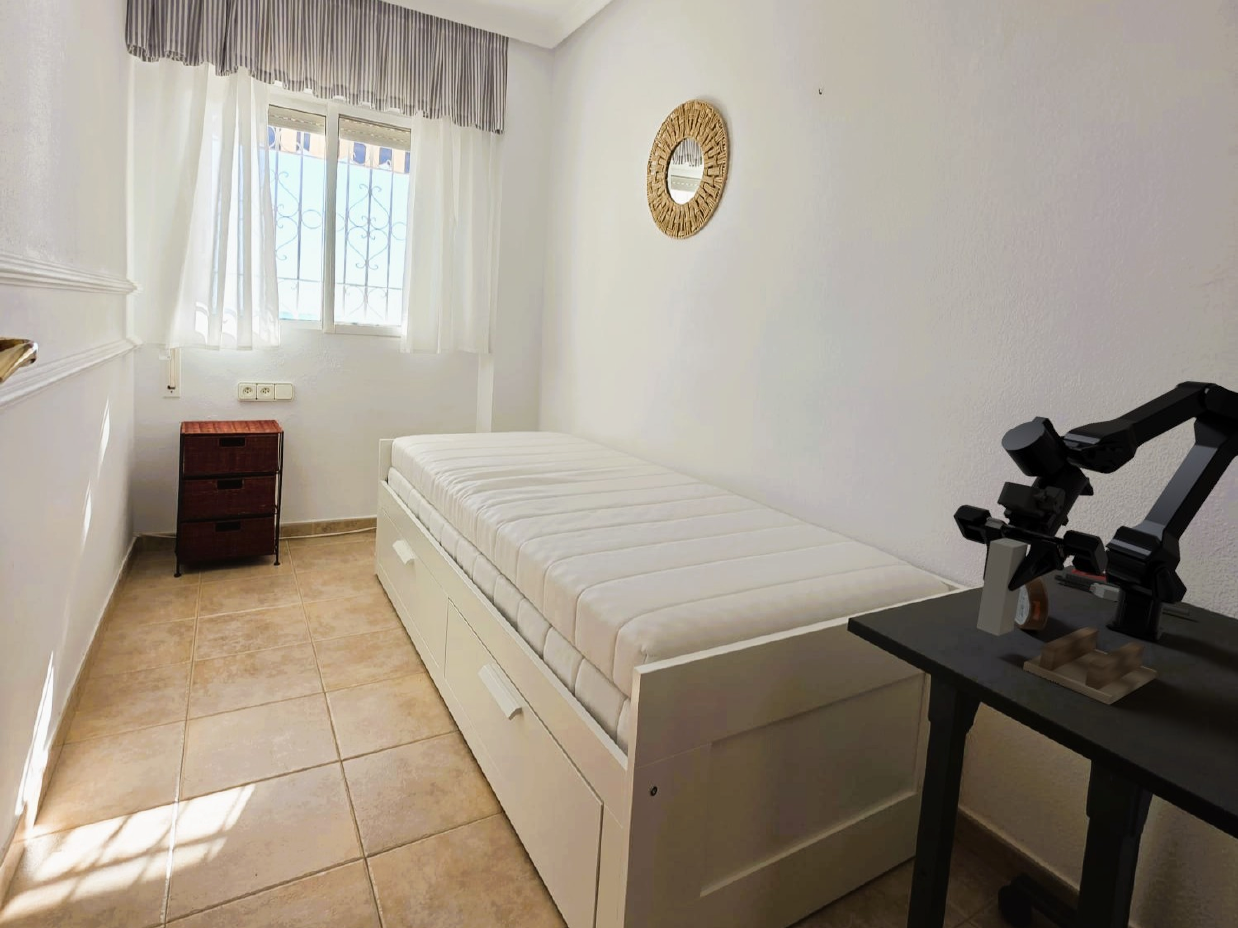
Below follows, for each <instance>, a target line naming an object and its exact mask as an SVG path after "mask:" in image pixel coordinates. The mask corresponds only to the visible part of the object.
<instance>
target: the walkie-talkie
mask: <svg viewBox="0 0 1238 928" xmlns="http://www.w3.org/2000/svg"><path fill="white" fill-rule="evenodd" d="M1053 579H1054V580H1055V581H1058V582H1060V584H1061V585H1063V586H1065V587H1070V586H1071V588H1073V589H1077V590H1080V591H1086V592H1088V591H1091V592H1090V593H1092V594H1093V595H1095V596H1097V597H1099V598H1100V599H1103V598H1104V599H1103V600H1108V601H1111V602H1115V601H1117V598H1118V593H1119V588H1120V587H1119V586H1116V585H1114V584H1110V583H1107V582H1106V575H1105V570H1104V572H1103V573H1102V575H1101V576H1094V575H1091V574H1087V573H1084V572H1080V571H1077V570H1076V569H1075V568H1074V566H1073V564H1070V565H1068V566H1067V567H1065V568H1064V570H1063V571H1062V575H1060V574H1055V575H1054V576H1053ZM1163 612H1172V613H1175V614H1179V615H1184V616H1190V617H1191V615H1192V613H1191V611H1189V610H1188V609H1183V608H1180V607H1175V606H1171V605H1169V604H1166V603H1164V608H1163Z"/></svg>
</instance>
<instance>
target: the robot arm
mask: <svg viewBox="0 0 1238 928" xmlns="http://www.w3.org/2000/svg"><path fill="white" fill-rule="evenodd" d="M1192 419H1195V420H1194V422H1193V432H1194V441H1195V442H1194V444H1193V445H1192V447H1191V448H1190V450H1189V451H1188V453H1187V454H1186V456H1185V458H1184V459H1183V461H1182V462H1181V463H1180V464H1179V466H1178V468H1177V469H1176V471H1175V472H1174V473H1173V476H1171V478H1170V479H1169V481H1168V483H1167V484H1166V486H1165V487H1164V488H1163V490H1162V492H1161V493H1160V494H1159V497H1158V498H1157V499H1156V501H1155V502H1154V503H1153V505H1152V506H1151V508H1150V510H1149V511H1148V513H1147V515H1146V516H1145V517H1144V519H1143V520H1142V521H1141V522H1139V524H1137V525H1135V526H1132V527H1129V526H1127V525H1126V526H1125V525H1120V527H1117V529H1116V530H1115V533H1114V535H1113V536H1112V538H1111V539H1110V541H1109V542H1108V543H1106V544H1105V545H1104V542H1103V540H1102V538H1101V536H1099V535H1096V534H1092V533H1091V534H1090V533H1086V532H1083V531H1078V530H1074V529H1069V530H1066V531H1065V532H1064V535H1063V536H1062V537H1059V536H1056V535H1057V534H1058V532H1059V531H1060V528H1061V526H1062V527H1066V526H1068V523H1069V521H1070V520H1069V516H1068V515H1069V514H1070V513H1071V510H1072V508H1073V507H1074V505H1075V503H1076V501H1077V500H1078V498H1079V497H1080V496H1083V497H1092V496H1094V495H1095V494H1094V487H1093V486H1092V484H1091V481H1090V477H1089V476H1087V475H1086V474H1085V473H1084V472H1083V471H1082V470H1087V471H1090V472H1095V473H1100V474H1103V475H1108V474H1109V475H1110V474H1112V473H1115V472H1117V471H1118V470H1120V469H1121V468H1122V467H1123V466H1125V465H1126V464H1127V463H1129V462H1130V461H1131V460H1133V459H1134V458H1135V457H1136V456H1135V455H1136V453H1137V451H1138V449H1139V447H1141V446H1142V445H1144V444H1146V443H1147V442H1150V441H1151V440H1153V439H1155V438H1157V437H1159V436H1161V435H1163V434H1165V433H1167V432H1169V431H1170V430H1172V429H1175V428H1176V427H1178V426H1180V425H1182V424H1184V423H1185V422H1188V421H1190V420H1192ZM1000 442H1001V447H1002V448H1003V449H1004V451H1005V452H1006V453H1007V454H1008V456H1009V457H1010V458H1011V460H1012V461H1013V463H1015V465H1016V466H1017V467H1018V469H1019V470H1020V471H1021V472H1022V474H1023V475H1025V476H1027V477H1029V478H1030V477H1031V478H1035V479H1034V481H1033V483H1032V484H1031V485H1027V484H1021V483H1016V482H1013V481H1005V482H1004V484H1003V486H1002V488H1001V492H1000V494H999V497H998V499H997V502H996V503H997V505H999V506H1002V507H1004V511H1003V514H1002V515H1003V516H1004V518H1005V519H1007V520H1008V522H1007V523H1006V521H1004V520H1002V519H1000V518H995V517H993V516H992V514H991V512H990V509H986V508H982V507H978V506H974V505H970V504H963V505H962V504H961V505H960V506H959V507H958V508H957V509H956V511H955V513H954V514H953V516H952V517H953V518H954V521H955V522H956V526H957V527H958V530H959V531H960V533H961V535H962V538H965V540H968V541H970V542H975V543H978V544H981V545H985V546H986V555H985V560H984V568H983V576H982V580H983V581H984V579H985V573H986V566H987V560H988V554H989V548H990V542H991V541H994V540H999V539H1003V538H1008V539H1012V540H1016V541H1019V542H1023V543H1027V544H1028V546H1030V547H1029V549H1028V551H1027V553H1026V557H1025V559H1024V560H1023V562H1022V563H1021V565H1020V566H1019V568H1018V569H1017V571H1016V572H1015V574H1014V575H1013V577H1012V579H1011V581H1010V583H1009V585H1008V589H1009V591H1014V590H1016V589H1018V588H1020V587H1021V586H1023V585H1025V584H1027V583H1029V582H1030V581H1032V580H1034V579H1036V578H1038V577H1043V576H1045V575H1046V574H1049V573H1052V572H1053V571H1059V572H1063V570H1064V569H1065V568H1066V567H1065V565H1064V563H1065V562H1066V561H1067V559H1069V558H1070V557H1072V560H1071V565H1073V566H1074V568H1075V569H1076V570H1077V571H1080V572H1084V573H1087V574H1091V575H1094V576H1101V575H1102V573H1105V575H1106V582H1107V583H1110V584H1114V585H1116V586H1119V587H1120V588H1119V593H1118V598H1117V602H1115V603H1116V604H1115V608H1114V613H1113V615H1112V617H1111V618H1110V619H1109V620H1108V621H1107V622H1106V623H1105V627H1106V628H1108V629H1110V630H1114V631H1117V632H1120V633H1125V634H1127V635H1132V636H1135V637H1139V638H1142V639H1146V640H1149V641H1153V642H1158V641H1159V639H1160V638H1161V637H1162V636H1163V633H1164V631H1165V628H1164V627H1162V626H1160V625H1161V621H1162V616H1163V613H1164V611H1163V608H1164V604H1167V605H1175V604H1176V603H1181V602H1182V601H1183V599H1184V597H1185V595H1186V593H1187V591H1188V588H1187V586H1186V585H1185V584H1184V582H1183V581H1182V579H1181V578H1180V576H1179V574H1178V573H1177V572H1176V571H1177V568H1178V566H1179V564H1180V562H1181V551H1180V539H1181V537H1182V536H1183V534H1184V533H1185V531H1186V529H1187V528H1188V527H1189V526H1190V524H1191V522H1192V521H1193V519H1194V518H1195V517H1196V516H1197V514H1198V513H1199V511H1200V509H1201V507H1203V505H1204V503H1205V502H1206V500H1207V499H1208V497H1209V496H1210V494H1211V493H1212V491H1213V490H1214V489H1215V487H1216V485H1217V484H1218V482H1219V481H1220V480H1221V478H1222V477H1223V475H1224V473H1225V472H1226V471H1227V469H1228V467H1229V466H1230V464H1231V463H1232V462H1233V460H1234V459H1236V458H1237V457H1238V391H1233V390H1230V389H1228V388H1226V387H1224V386H1222V385H1219V384H1217V383H1216V382H1206V381H1205V382H1204V381H1195V380H1194V381H1193V380H1185V381H1183V382H1182V381H1181V382H1179V383H1177V384H1176V385H1175V386H1174V387H1173V389H1171V390H1169V391H1167V392H1164V393H1163V394H1161V395H1159V396H1157V397H1155V398H1153V399H1151V400H1149V401H1148V402H1146V403H1144V404H1141V405H1140V406H1138V407H1136V408H1133V409H1132V410H1130V411H1128V412H1126V413H1124V414H1122V415H1121V416H1118V417H1116V418H1114V419H1110V420H1106V421H1098V422H1090V423H1087V424H1083V425H1080V426H1078V427H1074V428H1071V429H1070V430H1068V431H1067V432H1065V434H1063V435H1059V432H1057V430H1056V429H1055V427H1054V424H1053V423H1052V421H1051V419H1050V418H1048V417H1043V416H1039V415H1038V416H1034V418H1033V419H1032V420H1031V421H1027V422H1023V423H1021V424H1018V425H1015V427H1013V428H1010V429H1008V430H1007V431H1006V433H1005V434H1004V435H1003V436H1002V438H1001V441H1000ZM1105 548H1106V549H1105ZM1104 570H1105V571H1104Z"/></svg>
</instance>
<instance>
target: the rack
mask: <svg viewBox="0 0 1238 928" xmlns="http://www.w3.org/2000/svg"><path fill="white" fill-rule="evenodd" d="M1099 632H1100V630H1099V629H1097V628H1093V627H1091V626H1089V625H1087V626H1084V627H1083V628H1081V629H1077V630H1075V631H1073V632H1071V633H1068V634H1065V635H1064V636H1061V637H1058V638H1057V639H1054V640H1051V641H1050V642H1047V643H1044V644H1042V649H1041V653H1040V655H1037V656H1036V657H1033V658H1032V659H1029V660H1026V661H1024V662H1023V668H1022V669H1023V670H1024V671H1027V672H1028V671H1029V673H1031V674H1033V673H1034V675H1036V676H1038V677H1040V676H1041V678H1043V679H1045V678H1046V679H1045V680H1048V681H1050V680H1051V682H1053V681H1054V682H1053V683H1055V682H1056V683H1055V684H1057V683H1059V684H1058V685H1060V686H1063V687H1065V688H1068V689H1069V690H1073V692H1077V693H1080V694H1083V695H1085V696H1087V697H1089V698H1091V699H1093V700H1096V701H1098V702H1101V703H1104V704H1105V705H1111V704H1113V703H1115V702H1116V701H1118V700H1120V699H1122V698H1123V697H1125V696H1127V695H1129V694H1131V693H1132V692H1134V691H1135V690H1137V689H1139V688H1140V687H1143V685H1146V684H1147V683H1149V682H1151V681H1152V680H1155V678H1156V674H1157V670H1155V669H1152V668H1148V667H1146V666H1144V665H1142V661H1143V656H1144V652H1145V647H1146V645H1144V644H1142V643H1139V642H1135V641H1130V642H1129V643H1127V644H1125V645H1122V646H1121V647H1118V648H1116V649H1115V650H1112V651H1110V652H1108V653H1107V652H1105V651H1101V650H1100V649H1096V647H1097V642H1098V637H1099Z"/></svg>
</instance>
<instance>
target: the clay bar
mask: <svg viewBox="0 0 1238 928" xmlns="http://www.w3.org/2000/svg"><path fill="white" fill-rule="evenodd" d="M1028 547H1029V545H1028V544H1027V543H1023V542H1019V541H1016V540H1012V539H1008V538H1003V539H999V540H994V541H991V542H990V548H989V554H988V560H987V566H986V573H985V579H984V580H983V585H982V586H983V587H982V593H981V597H980V605H979V611H978V617H977V625H976V629H979V630H981V631H983V632H985V633H989V634H992V635H995V636H996V637H999V636H1002V635H1005V634H1007V633H1010V632H1013V631H1014V629H1015V617H1016V612H1017V606H1018V600H1019V594H1020V588H1021V587H1020V588H1018V589H1016V590H1014V591H1009V589H1008V585H1009V583H1010V581H1011V579H1012V577H1013V575H1014V574H1015V572H1016V571H1017V569H1018V568H1019V566H1020V565H1021V563H1022V562H1023V560H1024V559H1025V557H1026V556H1027V554H1028Z"/></svg>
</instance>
